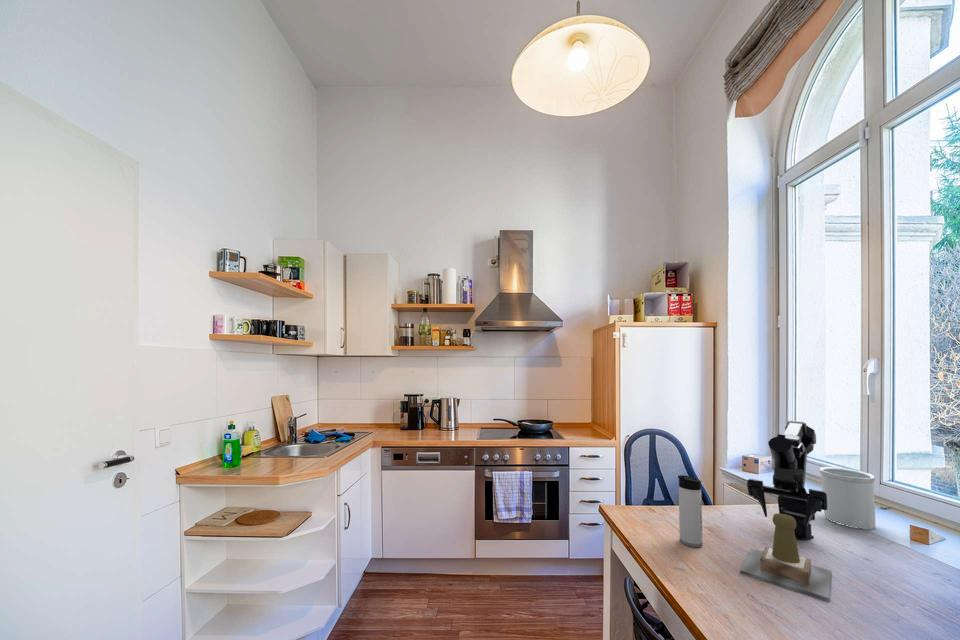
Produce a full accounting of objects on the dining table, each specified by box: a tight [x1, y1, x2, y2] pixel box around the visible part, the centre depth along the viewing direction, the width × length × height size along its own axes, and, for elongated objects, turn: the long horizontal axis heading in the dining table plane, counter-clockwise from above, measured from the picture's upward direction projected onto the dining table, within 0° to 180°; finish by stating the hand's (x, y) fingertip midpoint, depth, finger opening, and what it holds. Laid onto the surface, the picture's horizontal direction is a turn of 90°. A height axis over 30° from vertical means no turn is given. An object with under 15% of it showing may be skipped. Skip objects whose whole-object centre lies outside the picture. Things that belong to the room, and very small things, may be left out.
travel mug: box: [677, 474, 703, 548], centre depth 126 cm, size 6×7×20 cm
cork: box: [772, 512, 800, 563], centre depth 109 cm, size 6×6×11 cm
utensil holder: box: [819, 466, 876, 530], centre depth 148 cm, size 15×15×18 cm
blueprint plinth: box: [739, 546, 832, 603], centre depth 109 cm, size 18×18×4 cm
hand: (785, 520), depth 115 cm, fingers open, 9 cm apart
